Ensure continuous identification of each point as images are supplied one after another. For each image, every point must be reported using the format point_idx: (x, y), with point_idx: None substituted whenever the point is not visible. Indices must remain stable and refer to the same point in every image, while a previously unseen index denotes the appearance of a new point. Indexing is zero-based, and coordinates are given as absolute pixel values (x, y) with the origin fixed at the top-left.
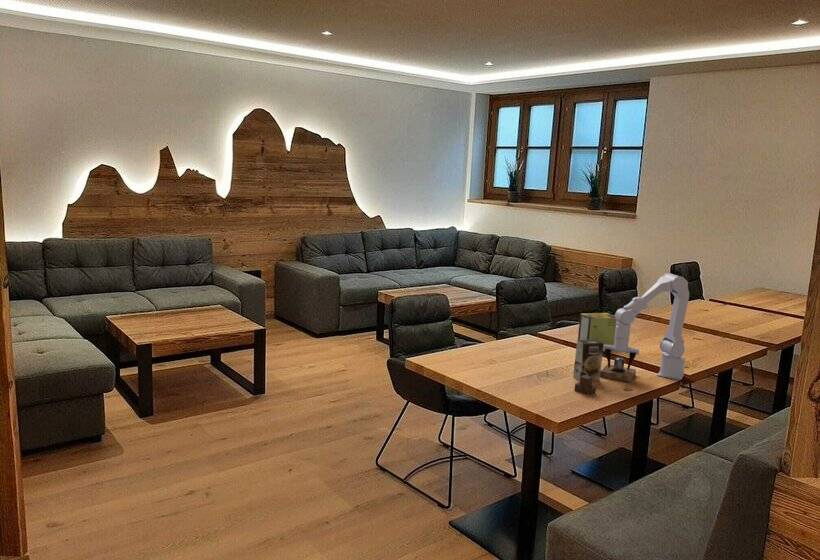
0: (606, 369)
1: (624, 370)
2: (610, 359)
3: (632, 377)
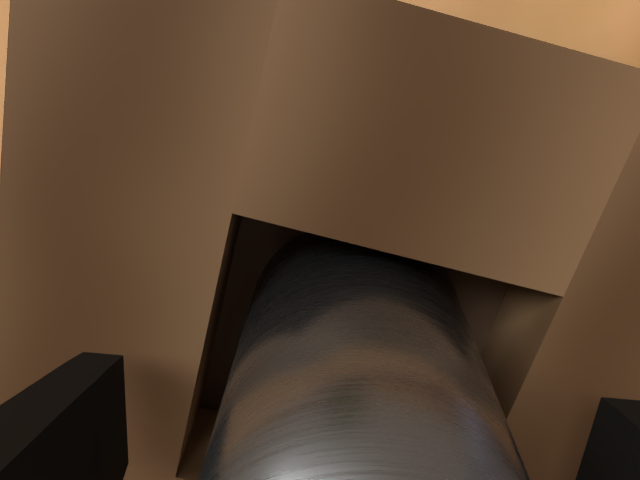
0: None
1: (519, 280)
2: (5, 471)
3: None
